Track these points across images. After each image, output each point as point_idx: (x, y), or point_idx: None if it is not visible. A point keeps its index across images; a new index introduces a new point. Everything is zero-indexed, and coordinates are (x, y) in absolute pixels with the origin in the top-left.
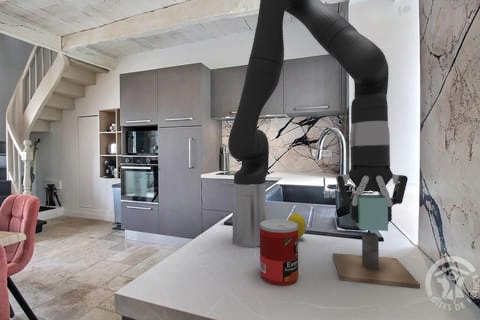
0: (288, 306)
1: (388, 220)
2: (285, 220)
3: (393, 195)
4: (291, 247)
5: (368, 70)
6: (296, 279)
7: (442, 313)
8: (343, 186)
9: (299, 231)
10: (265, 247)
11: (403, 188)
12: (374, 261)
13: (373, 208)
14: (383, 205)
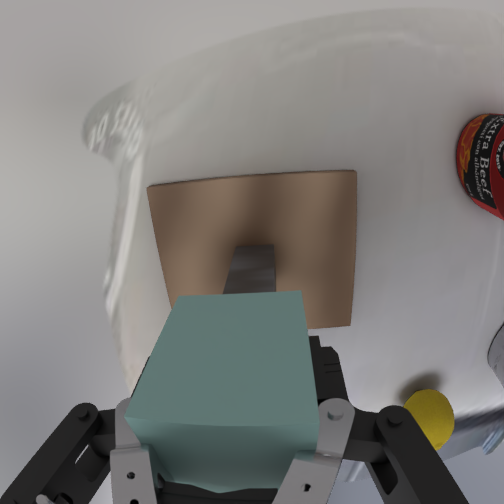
0: (459, 34)
1: None
2: None
3: (106, 463)
4: None
5: None
6: (459, 142)
7: (138, 84)
8: (429, 495)
9: (423, 399)
10: None
11: (37, 464)
12: (245, 255)
13: (225, 370)
14: (161, 382)
